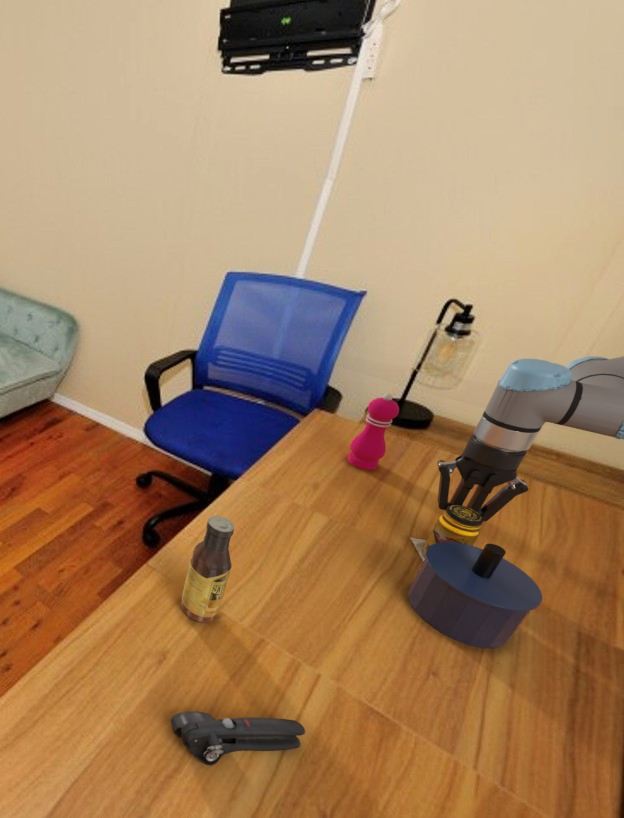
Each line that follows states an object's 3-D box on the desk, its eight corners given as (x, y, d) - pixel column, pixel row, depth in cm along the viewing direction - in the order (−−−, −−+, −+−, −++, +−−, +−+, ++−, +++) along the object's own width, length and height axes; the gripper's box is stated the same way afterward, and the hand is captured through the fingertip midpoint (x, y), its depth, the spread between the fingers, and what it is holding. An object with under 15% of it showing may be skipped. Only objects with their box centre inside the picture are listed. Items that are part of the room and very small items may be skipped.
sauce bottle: (209, 631, 87) (233, 545, 78) (174, 611, 90) (193, 526, 81) (222, 607, 91) (247, 523, 82) (189, 589, 95) (208, 506, 86)
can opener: (182, 772, 68) (189, 749, 65) (165, 719, 74) (171, 695, 71) (314, 770, 68) (326, 747, 65) (286, 717, 74) (296, 694, 71)
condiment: (426, 567, 98) (452, 520, 93) (409, 537, 105) (431, 492, 100) (472, 576, 96) (501, 528, 91) (451, 545, 103) (476, 499, 98)
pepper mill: (374, 474, 125) (403, 404, 116) (341, 462, 130) (366, 393, 120) (382, 463, 129) (411, 394, 120) (350, 451, 134) (375, 384, 125)
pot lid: (533, 571, 86) (552, 542, 83) (545, 631, 76) (567, 600, 73) (424, 534, 94) (438, 507, 91) (422, 583, 84) (438, 554, 81)
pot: (505, 608, 90) (531, 569, 85) (512, 664, 80) (542, 624, 76) (409, 572, 97) (429, 534, 93) (406, 619, 88) (427, 580, 84)
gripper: (543, 442, 91) (485, 540, 102) (450, 422, 97) (404, 516, 108) (555, 463, 85) (492, 564, 96) (455, 441, 92) (407, 537, 103)
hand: (445, 539), depth 102 cm, fingers closed
